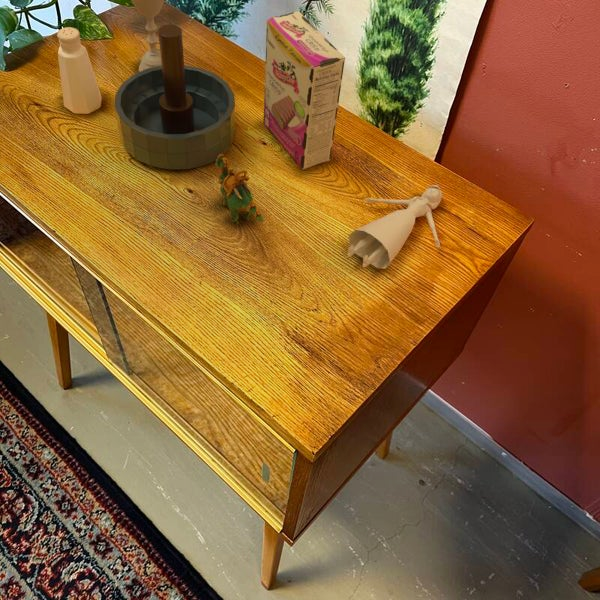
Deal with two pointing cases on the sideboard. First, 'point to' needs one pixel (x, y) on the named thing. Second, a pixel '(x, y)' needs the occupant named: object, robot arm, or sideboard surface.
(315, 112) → the candy bar box
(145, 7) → the chalice
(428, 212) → the woman figurine
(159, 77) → the bowl
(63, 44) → the pepper shaker
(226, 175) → the figurine
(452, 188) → the sideboard surface
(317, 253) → the sideboard surface
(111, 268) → the sideboard surface
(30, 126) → the sideboard surface
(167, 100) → the pestle
